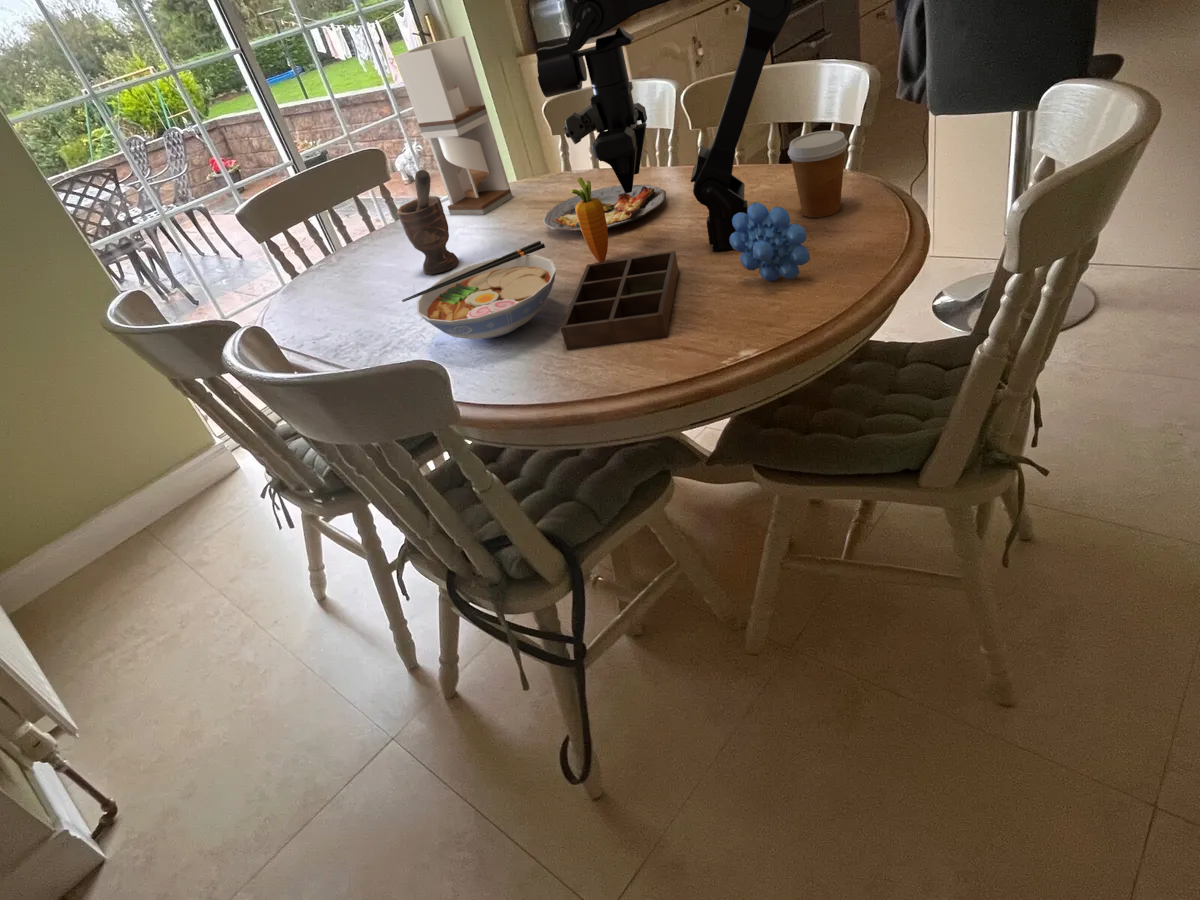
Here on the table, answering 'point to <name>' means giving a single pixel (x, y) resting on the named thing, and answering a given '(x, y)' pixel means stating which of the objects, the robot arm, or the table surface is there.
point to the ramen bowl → (489, 295)
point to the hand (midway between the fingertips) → (632, 183)
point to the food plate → (608, 206)
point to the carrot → (592, 221)
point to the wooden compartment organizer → (622, 301)
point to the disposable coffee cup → (819, 171)
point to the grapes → (769, 242)
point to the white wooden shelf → (455, 124)
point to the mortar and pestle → (427, 227)
